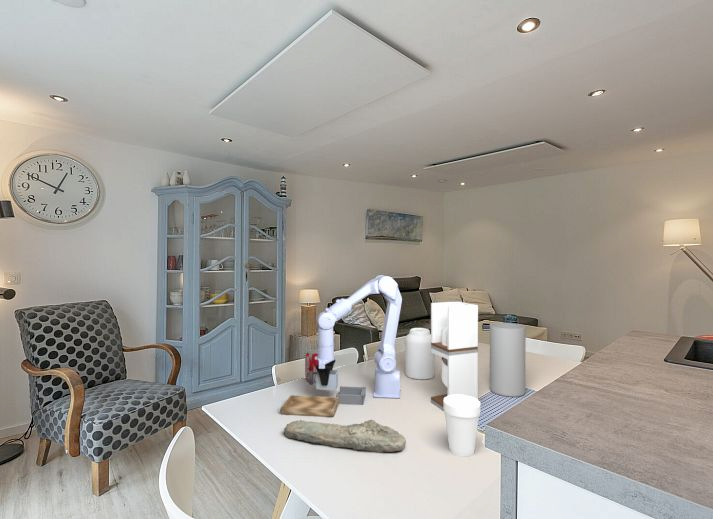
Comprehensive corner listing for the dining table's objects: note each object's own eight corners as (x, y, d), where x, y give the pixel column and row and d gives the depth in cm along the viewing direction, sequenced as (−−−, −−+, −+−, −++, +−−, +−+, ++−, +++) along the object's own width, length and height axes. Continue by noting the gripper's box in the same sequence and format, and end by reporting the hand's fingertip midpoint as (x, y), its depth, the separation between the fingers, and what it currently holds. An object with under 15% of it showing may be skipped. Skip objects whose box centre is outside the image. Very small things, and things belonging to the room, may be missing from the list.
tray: (338, 404, 127) (338, 397, 127) (333, 417, 117) (333, 409, 117) (290, 402, 129) (290, 395, 129) (281, 414, 119) (281, 407, 119)
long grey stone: (293, 429, 112) (278, 448, 102) (292, 413, 112) (277, 429, 102) (408, 438, 103) (403, 459, 93) (407, 419, 102) (402, 439, 93)
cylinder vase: (529, 399, 131) (529, 329, 131) (492, 396, 134) (492, 328, 134) (520, 386, 144) (521, 323, 143) (487, 384, 146) (487, 322, 146)
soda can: (319, 383, 148) (319, 353, 148) (302, 382, 149) (302, 352, 149) (324, 377, 155) (324, 349, 155) (308, 376, 156) (308, 348, 156)
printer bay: (365, 395, 135) (365, 387, 135) (363, 404, 127) (363, 396, 127) (340, 394, 136) (340, 386, 136) (336, 403, 128) (336, 394, 128)
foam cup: (439, 441, 101) (439, 395, 101) (471, 440, 102) (471, 393, 102) (450, 460, 92) (450, 409, 92) (486, 459, 93) (486, 408, 93)
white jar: (432, 371, 163) (432, 326, 163) (436, 380, 151) (436, 332, 150) (404, 370, 164) (404, 326, 164) (405, 379, 152) (405, 331, 152)
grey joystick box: (338, 385, 134) (337, 370, 134) (335, 390, 130) (335, 374, 130) (310, 384, 135) (310, 369, 135) (307, 388, 131) (307, 372, 131)
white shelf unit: (458, 397, 133) (458, 301, 132) (477, 409, 123) (477, 305, 122) (431, 402, 128) (431, 303, 128) (449, 414, 119) (449, 306, 118)
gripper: (319, 340, 140) (319, 375, 140) (310, 350, 126) (310, 389, 126) (337, 340, 139) (337, 376, 139) (330, 350, 125) (330, 390, 125)
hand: (326, 382), depth 132 cm, fingers closed on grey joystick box, 4 cm apart
